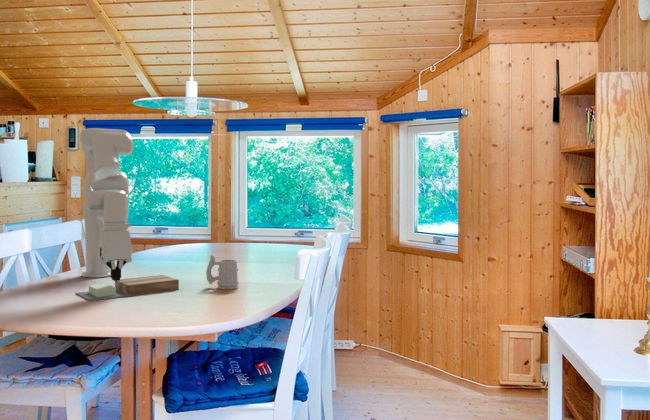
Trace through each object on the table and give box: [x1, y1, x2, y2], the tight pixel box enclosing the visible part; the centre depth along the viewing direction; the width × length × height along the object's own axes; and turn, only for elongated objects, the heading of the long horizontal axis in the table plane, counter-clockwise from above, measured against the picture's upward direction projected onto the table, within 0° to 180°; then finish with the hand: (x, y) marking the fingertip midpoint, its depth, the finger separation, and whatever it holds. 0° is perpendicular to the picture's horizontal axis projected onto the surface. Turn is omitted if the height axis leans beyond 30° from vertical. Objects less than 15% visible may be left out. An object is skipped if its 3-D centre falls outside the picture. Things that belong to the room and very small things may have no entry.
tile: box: [88, 283, 116, 297], centre depth 190 cm, size 9×6×2 cm, turn 40°
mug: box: [205, 254, 240, 290], centre depth 205 cm, size 8×12×12 cm, turn 91°
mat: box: [75, 289, 134, 302], centre depth 190 cm, size 15×14×1 cm
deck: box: [114, 274, 180, 296], centre depth 200 cm, size 13×18×4 cm
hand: (116, 280), depth 193 cm, fingers closed
